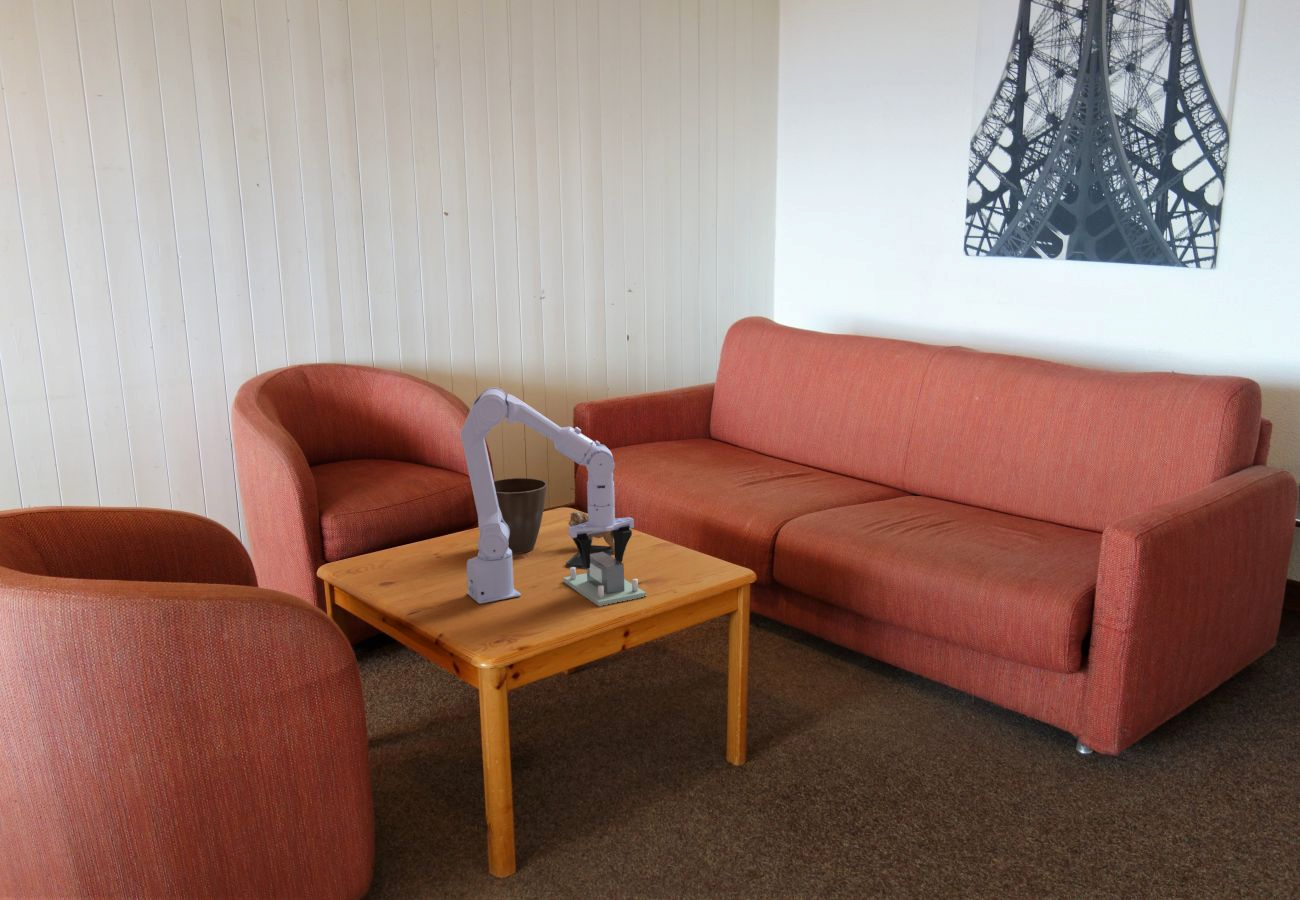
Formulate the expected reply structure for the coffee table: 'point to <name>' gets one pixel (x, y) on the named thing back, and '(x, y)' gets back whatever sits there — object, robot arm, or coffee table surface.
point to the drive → (606, 573)
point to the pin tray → (602, 589)
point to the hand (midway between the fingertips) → (602, 564)
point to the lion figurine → (581, 518)
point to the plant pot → (521, 510)
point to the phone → (577, 560)
